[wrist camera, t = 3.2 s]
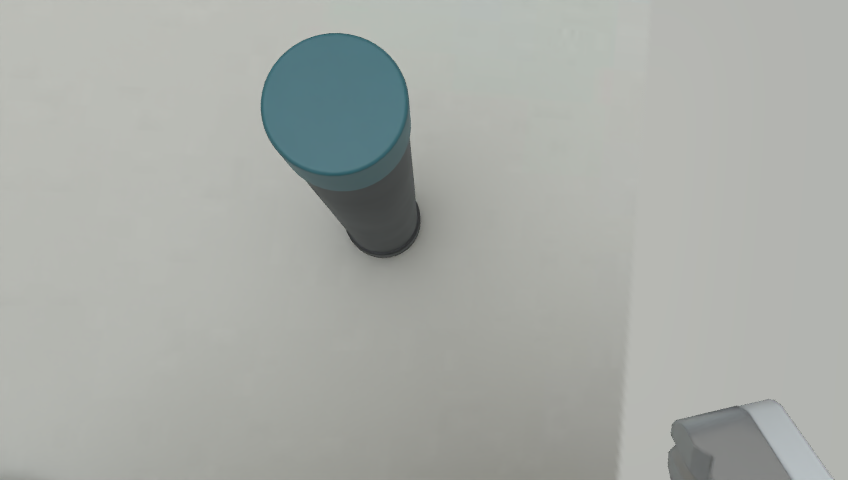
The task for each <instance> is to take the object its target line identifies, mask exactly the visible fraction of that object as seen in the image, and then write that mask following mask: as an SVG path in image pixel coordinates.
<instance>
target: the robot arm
mask: <svg viewBox="0 0 848 480" xmlns="http://www.w3.org/2000/svg"><path fill="white" fill-rule="evenodd" d="M671 436H672V438H673V440H674V442H675V444H676V445H675V446H674V447H673V448H672V449H671V450H670V451H669V455H668V468H669V473H670V478H671V480H834V479H833V477H832V476H831V475H830V473H829V472H828V470H827V469H826V467H825V466H824V465H823V463H822V462H821V460H820V459H819V457H818V456H817V455H816V453H815V452H814V450H813V449H812V448H811V446H810V445H809V443H808V442H807V440H806V439H805V438H804V436H803V435H802V433H801V432H800V430H799V429H798V428H797V426H796V425H795V424H794V422H793V421H792V419H791V418H790V416H789V415H788V413H787V412H786V411H785V409H784V408H783V406H782V405H781V404H779V403H778V402H777V401H775V400H771V399H767V400H763V401H759V402H754V403H750V404H745V405H741V406H734V407H729V408H726V409H721V410H717V411H713V412H708V413H704V414H700V415H696V416H692V417H688V418H684V419H679V420H676V421H675V422H674V423H673V424H672V429H671Z"/></svg>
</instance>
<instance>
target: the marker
mask: <svg viewBox="0 0 848 480" xmlns="http://www.w3.org/2000/svg"><path fill="white" fill-rule="evenodd" d="M261 116H262V121H263V125H264V129H265V131H266V134H267V136H268V138H269V140H270V141H271V143H272V145H273V146H274V147H275V149H276V150H277V151H278V153H279V154H280V155H281V156H282V157H283V158H284V160H285V161H286V162H287V163H288V164H289V166H290V167H291V168H292V169H293V170H294V171H295V172H296V173H297V174H298V175H299V176H300V177H302V178H303V179H304V180H306V182H307V183H308V184H309V185H310V186H311V188H312V189H313V190H314V191H315V193H316V194H317V195H318V196H319V197H320V199H321V200H322V201H323V202H324V203H325V205H326V206H327V207H328V208H329V209H330V211H331V212H332V213H333V214H334V215H335V217H336V218H337V219H338V220H339V221H340V223H341V224H342V225H343V226H344V227H345V229H346V231H347V233H348V235H349V237H350V239H351V240H352V242H353V243H354V244H355V245H356V246H357V247H358V248H359V249H360V250H361V251H363V252H364V253H366V254H368V255H371V256H374V257H380V258H387V257H392V256H396V255H398V254H400V253H402V252H404V251H405V250H406V249H408V248H409V247H410V246H411V245H412V243H413V242H414V241H415V239H416V237H417V235H418V232H419V229H420V211H419V207H418V204H417V202H416V198H415V188H414V178H413V168H412V157H411V147H410V130H411V119H410V107H409V97H408V90H407V86H406V82H405V79H404V77H403V75H402V73H401V71H400V69H399V67H398V66H397V64H396V63H395V62H394V60H393V59H392V58H391V57H390V56H389V55H388V54H387V53H386V52H385V51H384V50H383V49H381V48H380V47H379V46H377V45H376V44H374V43H372V42H370V41H368V40H366V39H364V38H361V37H358V36H354V35H350V34H342V33H329V34H322V35H317V36H314V37H311V38H308V39H306V40H303V41H301V42H299V43H298V44H296V45H294V46H293V47H292V48H290V49H289V50H287V51H286V52H285V53H284V54H283V55H282V56H281V57H280V58H279V59H278V61H277V62H276V63H275V64H274V66H273V67H272V69H271V71H270V72H269V74H268V76H267V79H266V81H265V84H264V87H263V91H262V97H261Z"/></svg>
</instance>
